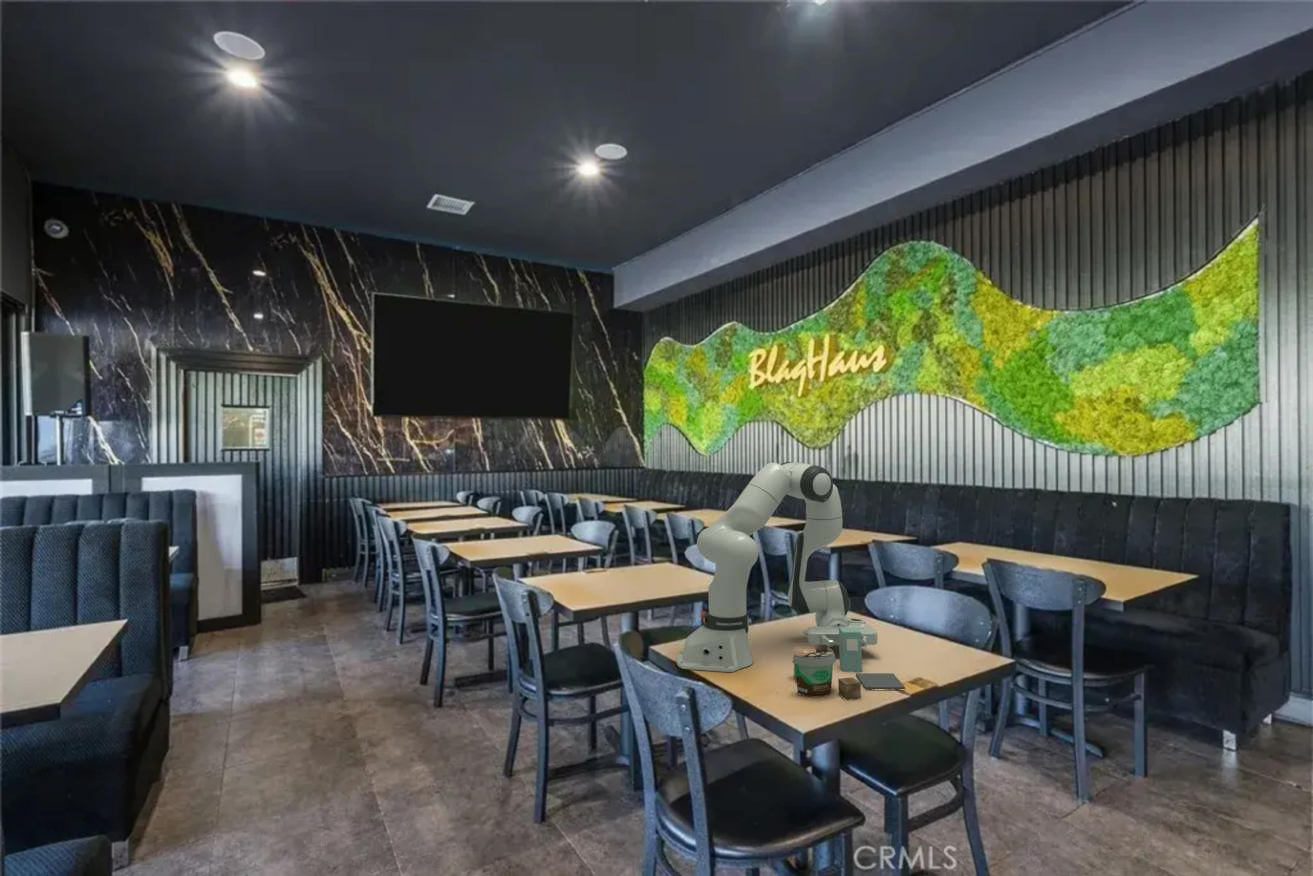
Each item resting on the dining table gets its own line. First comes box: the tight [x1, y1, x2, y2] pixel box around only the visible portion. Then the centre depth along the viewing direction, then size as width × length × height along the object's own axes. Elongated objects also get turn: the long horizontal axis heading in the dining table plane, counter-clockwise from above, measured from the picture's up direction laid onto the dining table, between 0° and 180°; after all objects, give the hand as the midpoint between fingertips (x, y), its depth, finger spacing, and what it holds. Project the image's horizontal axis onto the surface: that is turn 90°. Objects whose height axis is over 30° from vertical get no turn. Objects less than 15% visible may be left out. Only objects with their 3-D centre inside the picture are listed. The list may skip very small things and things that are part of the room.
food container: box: [792, 646, 837, 697], centre depth 165 cm, size 12×6×10 cm, turn 117°
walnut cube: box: [837, 676, 862, 701], centre depth 163 cm, size 4×4×4 cm
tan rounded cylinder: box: [793, 645, 817, 682], centre depth 175 cm, size 6×6×8 cm
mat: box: [855, 672, 906, 691], centre depth 171 cm, size 10×10×1 cm
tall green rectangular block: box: [838, 627, 863, 673], centre depth 183 cm, size 5×5×11 cm
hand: (847, 644), depth 186 cm, fingers open, 8 cm apart
